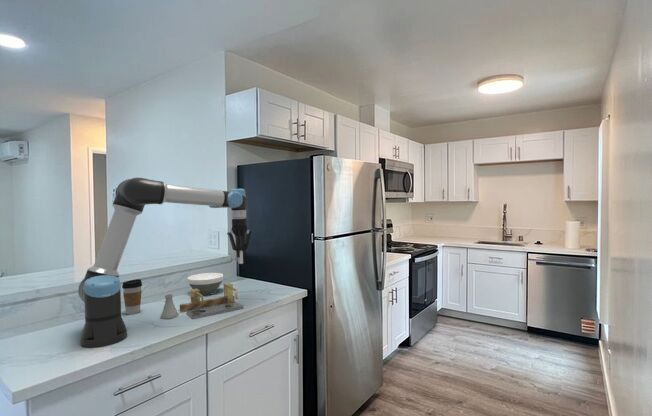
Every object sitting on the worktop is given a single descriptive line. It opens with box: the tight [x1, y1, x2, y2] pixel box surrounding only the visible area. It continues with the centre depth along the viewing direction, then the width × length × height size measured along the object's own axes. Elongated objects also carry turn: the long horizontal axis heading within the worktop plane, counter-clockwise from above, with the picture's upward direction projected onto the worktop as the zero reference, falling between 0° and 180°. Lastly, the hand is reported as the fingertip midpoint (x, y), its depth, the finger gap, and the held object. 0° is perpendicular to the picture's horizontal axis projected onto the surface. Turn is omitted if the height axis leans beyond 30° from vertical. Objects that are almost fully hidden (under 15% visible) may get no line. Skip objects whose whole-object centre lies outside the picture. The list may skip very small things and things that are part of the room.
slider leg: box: [223, 282, 239, 304], centre depth 178 cm, size 3×14×9 cm, turn 36°
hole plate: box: [186, 301, 245, 320], centre depth 167 cm, size 24×9×1 cm, turn 126°
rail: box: [179, 288, 235, 313], centre depth 172 cm, size 26×14×9 cm, turn 126°
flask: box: [160, 293, 179, 320], centre depth 160 cm, size 7×7×10 cm
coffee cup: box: [121, 278, 143, 315], centre depth 168 cm, size 8×8×15 cm
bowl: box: [187, 272, 224, 296], centre depth 203 cm, size 20×20×10 cm
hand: (240, 263), depth 186 cm, fingers closed
